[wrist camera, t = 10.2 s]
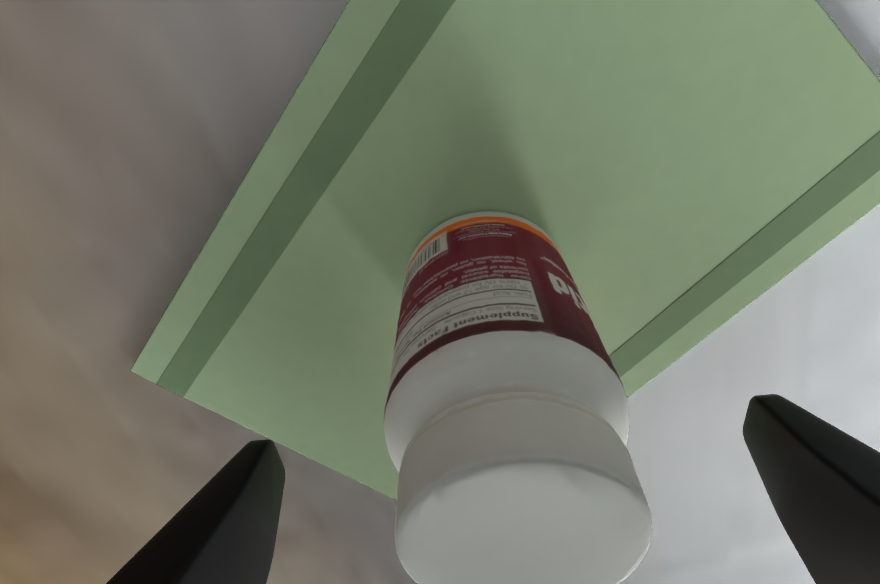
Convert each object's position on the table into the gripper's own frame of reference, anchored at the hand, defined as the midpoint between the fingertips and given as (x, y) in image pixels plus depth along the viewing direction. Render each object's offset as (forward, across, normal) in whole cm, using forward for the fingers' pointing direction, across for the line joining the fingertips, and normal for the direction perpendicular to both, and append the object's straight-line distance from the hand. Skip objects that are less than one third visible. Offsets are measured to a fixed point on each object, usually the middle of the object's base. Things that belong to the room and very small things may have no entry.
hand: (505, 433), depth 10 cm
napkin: (+6, 0, 0) cm, 7 cm away
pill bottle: (+6, 0, 0) cm, 6 cm away
